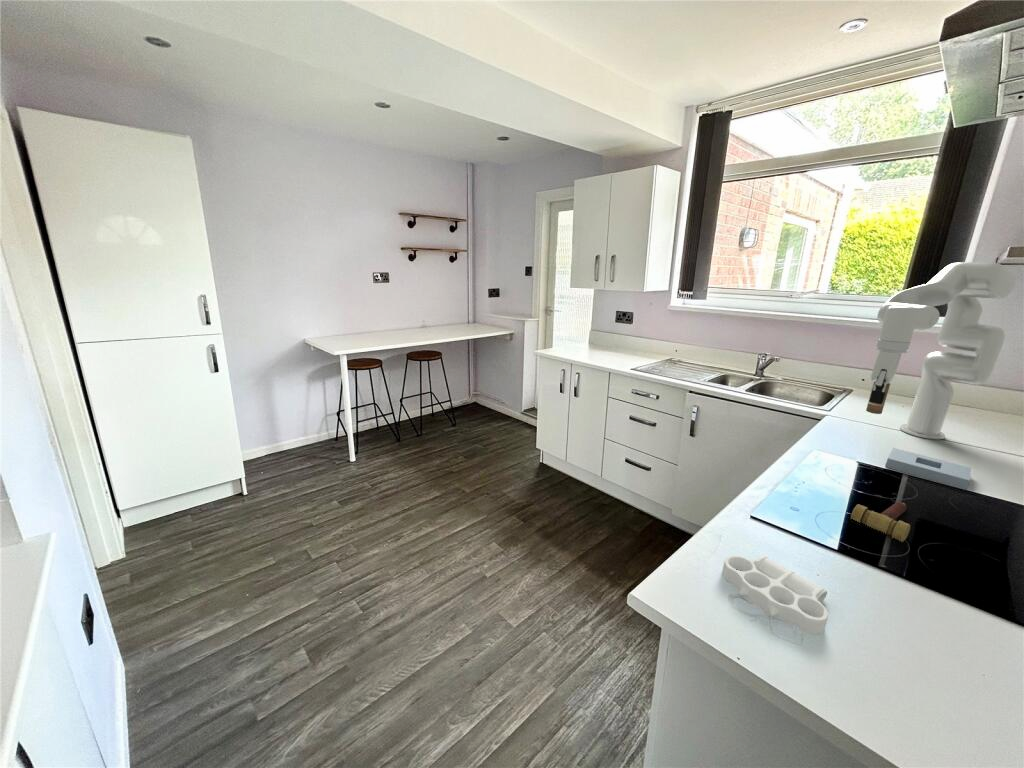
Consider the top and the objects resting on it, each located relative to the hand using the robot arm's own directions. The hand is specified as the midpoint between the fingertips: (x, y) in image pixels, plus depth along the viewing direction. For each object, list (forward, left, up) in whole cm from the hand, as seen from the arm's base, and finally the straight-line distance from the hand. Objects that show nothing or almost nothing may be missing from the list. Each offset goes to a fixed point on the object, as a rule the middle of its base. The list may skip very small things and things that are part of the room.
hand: (877, 400), depth 137 cm
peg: (0, 0, -4) cm, 4 cm away
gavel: (+43, +12, -20) cm, 49 cm away
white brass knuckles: (+93, +1, -20) cm, 95 cm away
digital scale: (0, +16, -19) cm, 25 cm away
